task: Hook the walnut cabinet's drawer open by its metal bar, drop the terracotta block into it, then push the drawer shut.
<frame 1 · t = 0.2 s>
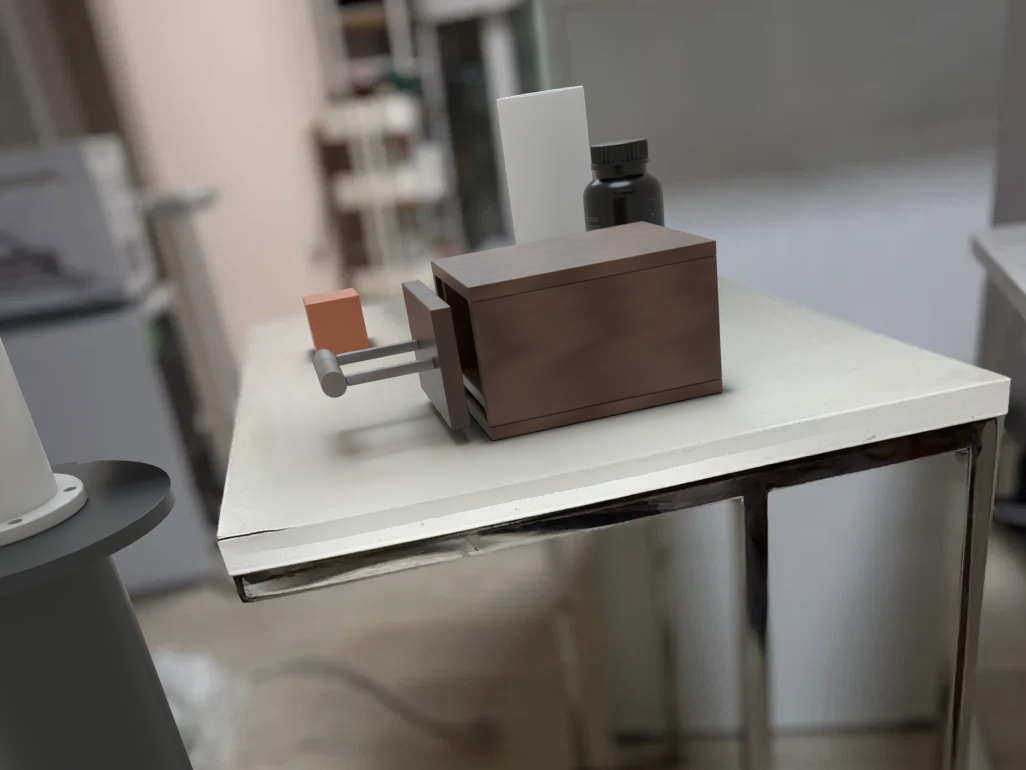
cabinet: (580, 392, 69), on the table
tall white panel: (561, 276, 108), on the table
supplement bottle: (630, 295, 95), on the table
block: (342, 350, 91), on the table
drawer: (478, 342, 66), point 4 cm above the table, slide at 1.0 cm
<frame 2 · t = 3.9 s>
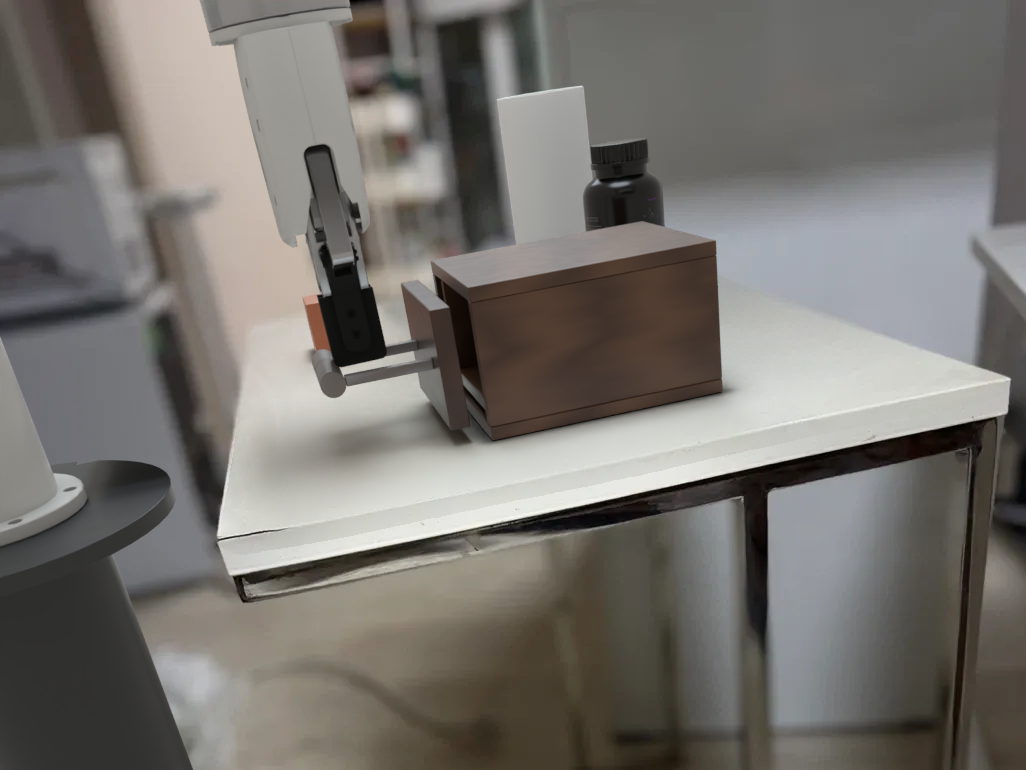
hand: (360, 359, 65), 5 cm above the table, tool pointing down, fingers closed
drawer: (477, 343, 66), point 4 cm above the table, slide at 1.1 cm, touching gripper
everything else where it was.
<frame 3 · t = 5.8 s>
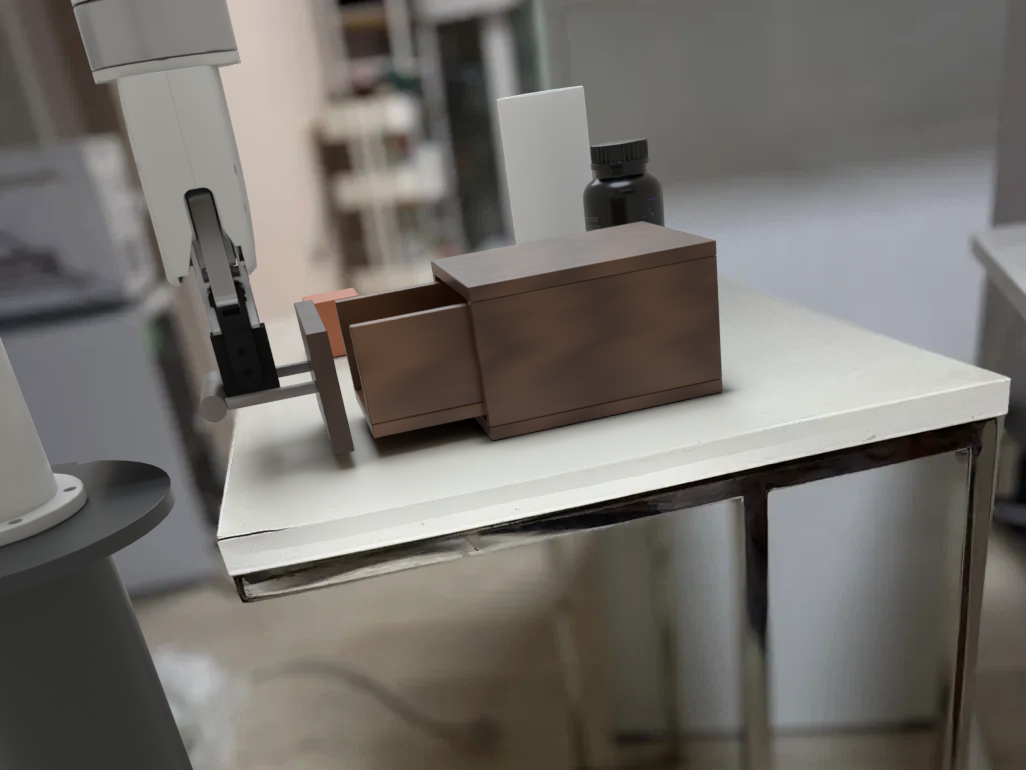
hand: (255, 397, 65), 4 cm above the table, tool pointing down, fingers closed
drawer: (367, 364, 65), point 4 cm above the table, slide at 8.0 cm, touching gripper
everything else where it was.
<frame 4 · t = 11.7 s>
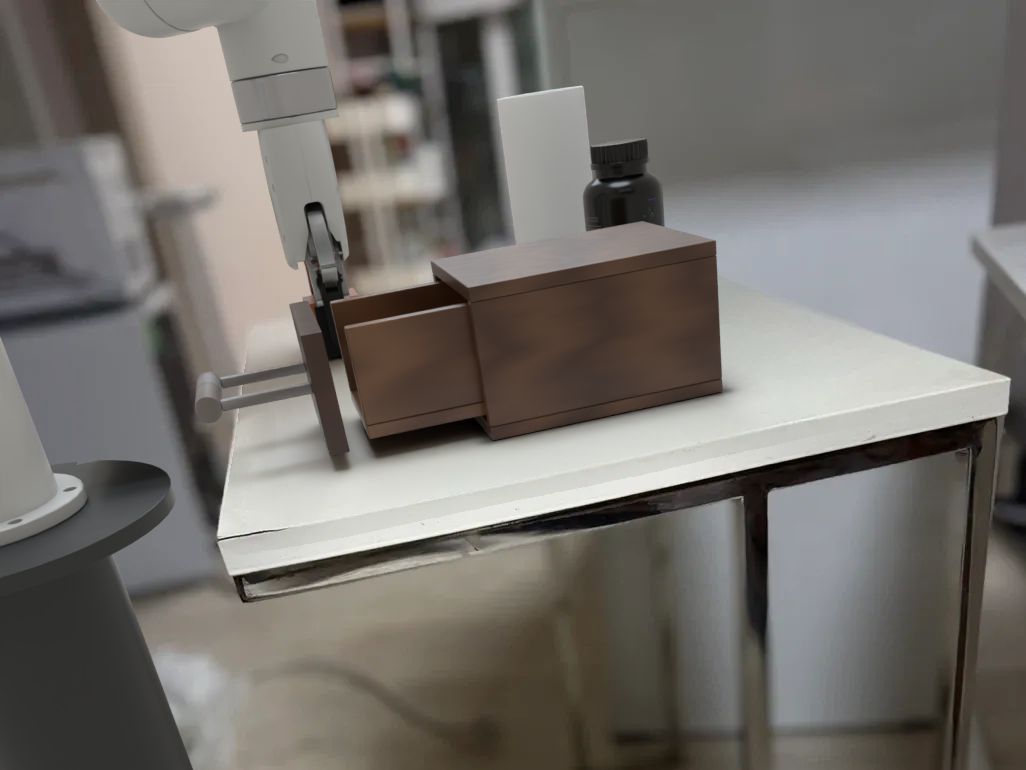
hand: (341, 345, 91), 0 cm above the table, tool pointing down, fingers closed on block, 4 cm apart
block: (342, 350, 91), on the table, touching gripper
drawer: (363, 365, 65), point 4 cm above the table, slide at 8.3 cm
everything else where it was.
when the fingers open (11 cm above the table, at t = 17.3 s): block drops 9 cm, resting on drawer.
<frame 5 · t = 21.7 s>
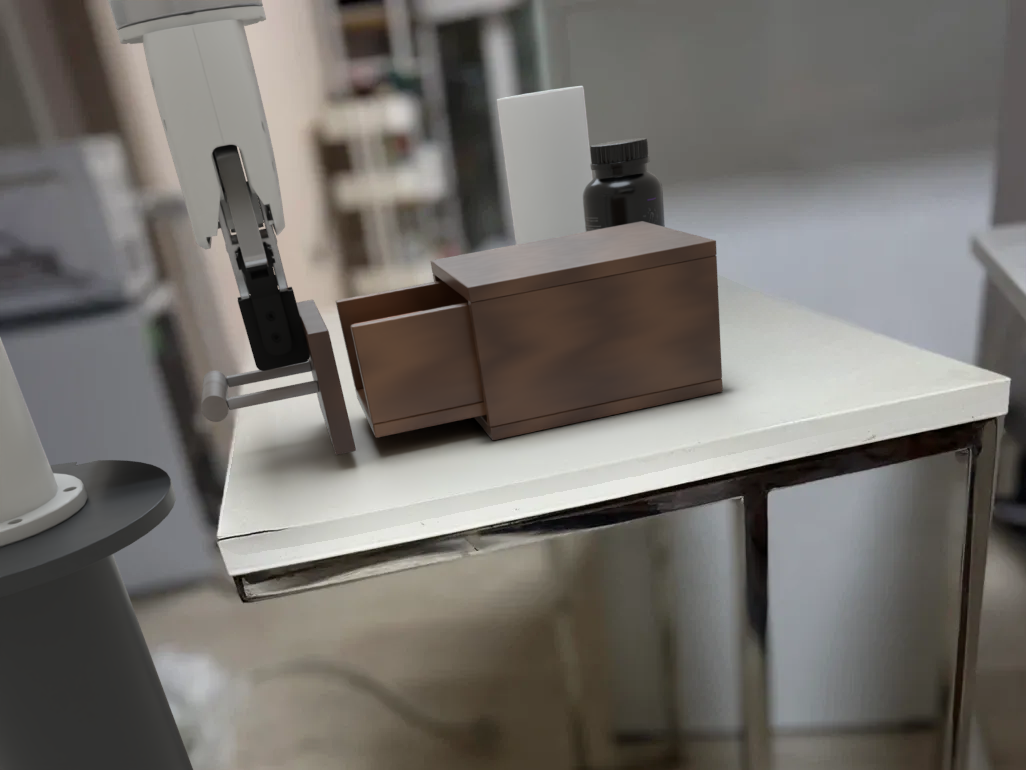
hand: (283, 363, 64), 5 cm above the table, tool pointing down, fingers closed
block: (407, 395, 67), point 2 cm above the table, touching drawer
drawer: (368, 364, 65), point 4 cm above the table, slide at 7.9 cm, touching block, gripper
everything else where it was.
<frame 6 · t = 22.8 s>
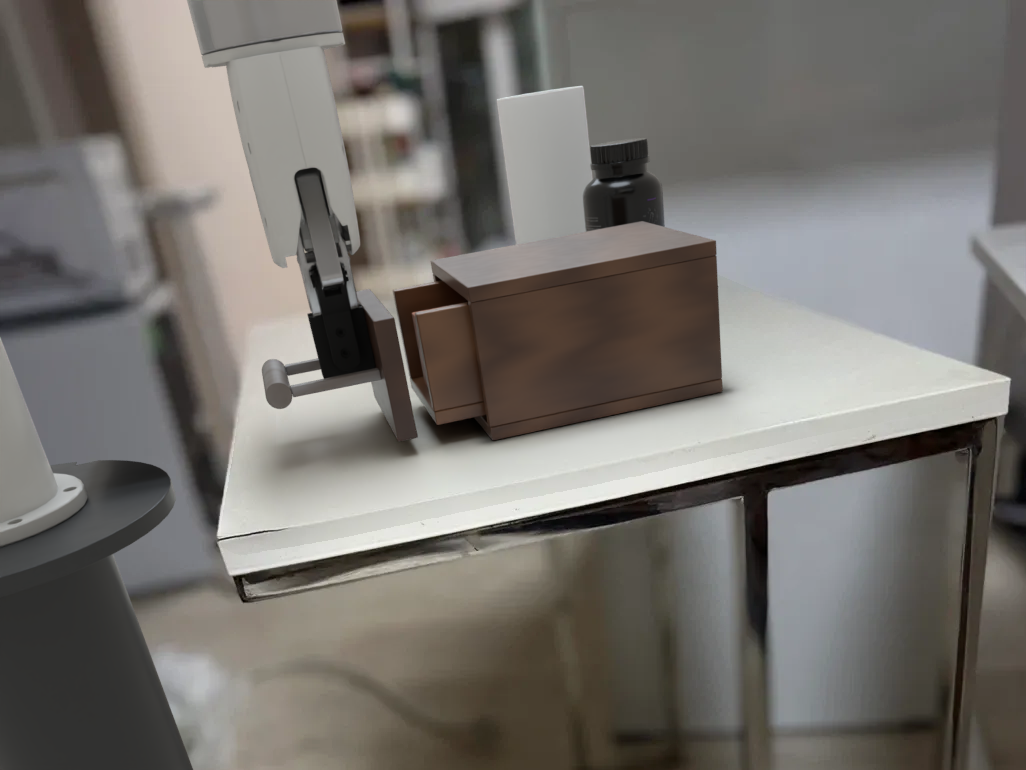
hand: (350, 377, 65), 4 cm above the table, tool pointing down, fingers closed
block: (464, 384, 67), point 2 cm above the table, touching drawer
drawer: (427, 352, 66), point 4 cm above the table, slide at 4.2 cm, touching block, gripper
everything else where it was.
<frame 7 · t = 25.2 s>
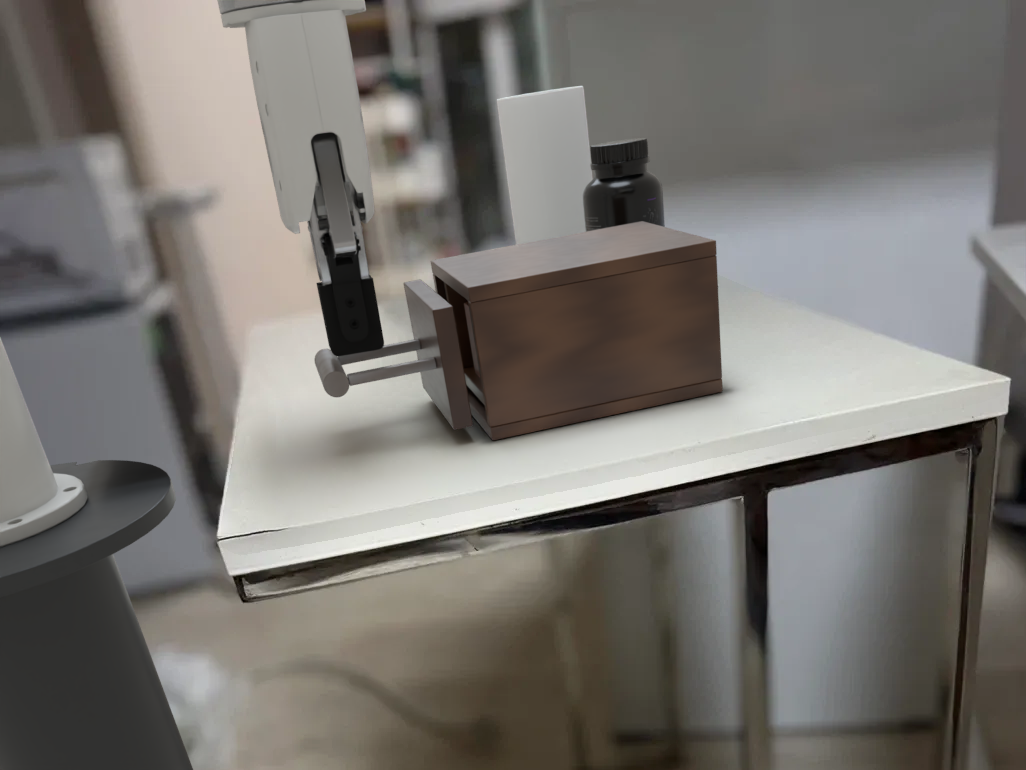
hand: (357, 349, 65), 5 cm above the table, tool pointing down, fingers closed
block: (515, 373, 68), point 2 cm above the table, touching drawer
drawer: (480, 342, 66), point 4 cm above the table, slide at 0.9 cm, touching block
everything else where it was.
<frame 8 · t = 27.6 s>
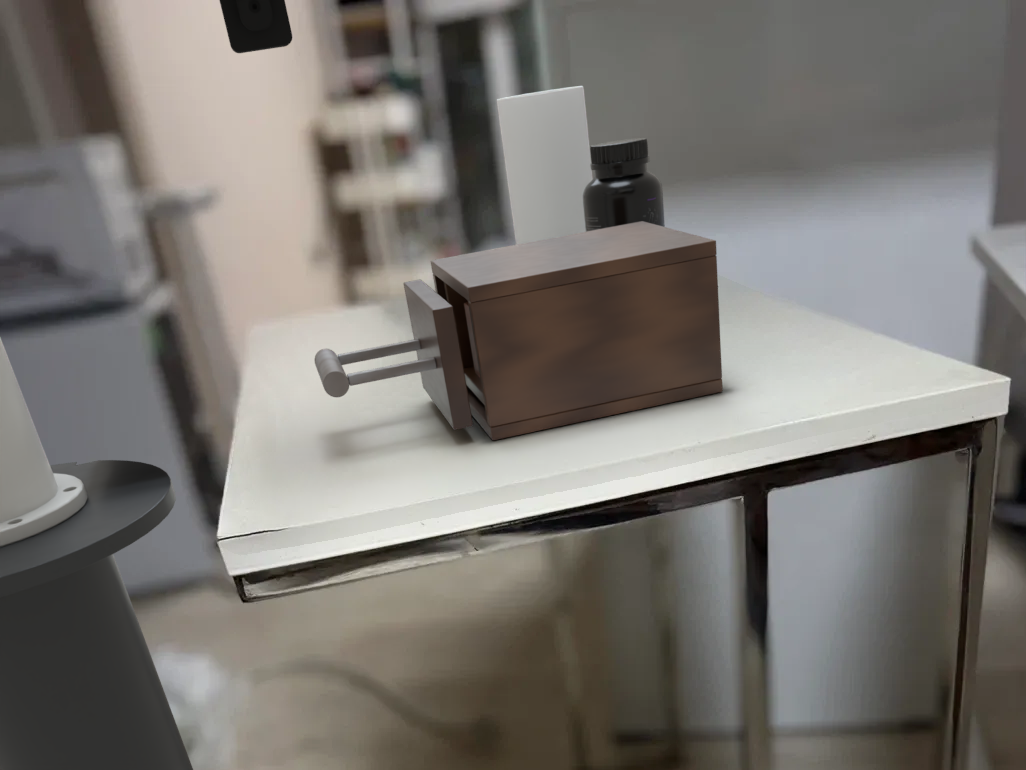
hand: (262, 48, 56), 21 cm above the table, tool pointing down, fingers closed
nothing on the table moved.
at the end: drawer pulled out 8.3 cm at the most during the clip, back to 0.9 cm at the end; block inside the target area in the cabinet (4.1 cm from its centre), point 2.0 cm above the cabinet's base; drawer slide at 0.9 cm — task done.
